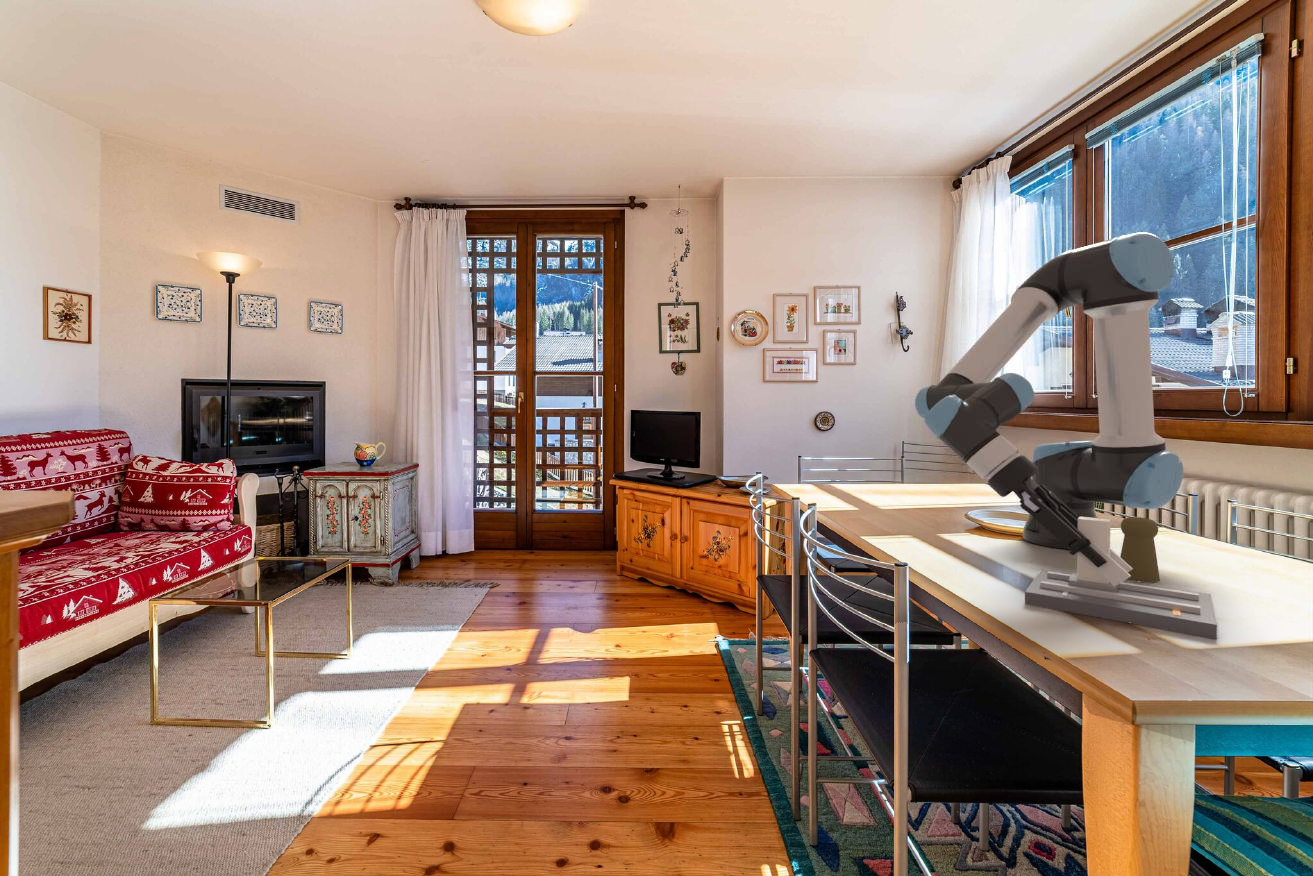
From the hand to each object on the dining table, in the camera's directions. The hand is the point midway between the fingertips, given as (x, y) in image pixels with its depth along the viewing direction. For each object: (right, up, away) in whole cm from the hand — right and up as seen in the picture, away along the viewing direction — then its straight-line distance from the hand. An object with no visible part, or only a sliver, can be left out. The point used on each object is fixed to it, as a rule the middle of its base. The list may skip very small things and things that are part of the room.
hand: (1123, 577), depth 88 cm
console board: (0, -5, +1) cm, 5 cm away
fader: (-3, -2, +3) cm, 4 cm away
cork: (+15, -4, +14) cm, 21 cm away
